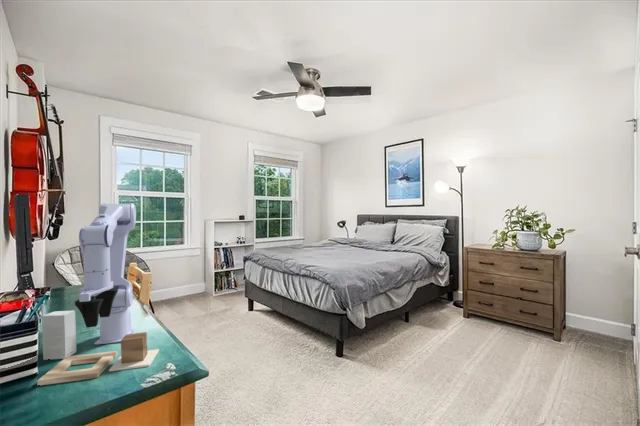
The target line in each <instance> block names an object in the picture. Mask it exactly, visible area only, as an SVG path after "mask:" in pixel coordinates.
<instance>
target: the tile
mask: <svg viewBox="0 0 640 426" xmlns="http://www.w3.org/2000/svg"><path fill="white" fill-rule="evenodd" d="M159 352H160V349H159V348H157V349H149V350H148V349H147V355H146V357H145V359H144V361H138V362H131V363H124V364H121V355H120V356H119V357H118V358H117V360H116V361H115V362H114V363H113V364H112V366H111V367H110V368H108V372H109V373H110V372H114V371H115V372H118V371H124V370H131V369H133V370H134V369H137V368H139V369H140V368H145V367H146V368H148V367H150V366H151V364H152V363H153V361H154V359H155V358H156V357H157V355H158V353H159Z"/></svg>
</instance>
